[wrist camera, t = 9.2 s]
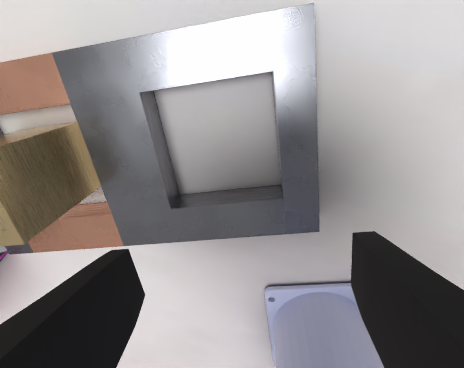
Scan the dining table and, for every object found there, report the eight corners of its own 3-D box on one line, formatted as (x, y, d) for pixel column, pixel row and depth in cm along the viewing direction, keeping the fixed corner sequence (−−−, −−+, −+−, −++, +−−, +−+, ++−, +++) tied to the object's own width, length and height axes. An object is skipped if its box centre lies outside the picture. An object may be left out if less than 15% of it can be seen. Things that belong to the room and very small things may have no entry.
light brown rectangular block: (103, 183, 19) (24, 244, 12) (48, 189, 19) (-55, 250, 13) (81, 121, 17) (-26, 153, 11) (21, 130, 18) (-114, 166, 11)
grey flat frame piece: (313, 215, 18) (319, 231, 16) (31, 238, 21) (9, 254, 19) (306, 11, 13) (314, 2, 12) (-54, 78, 17) (-93, 80, 15)
